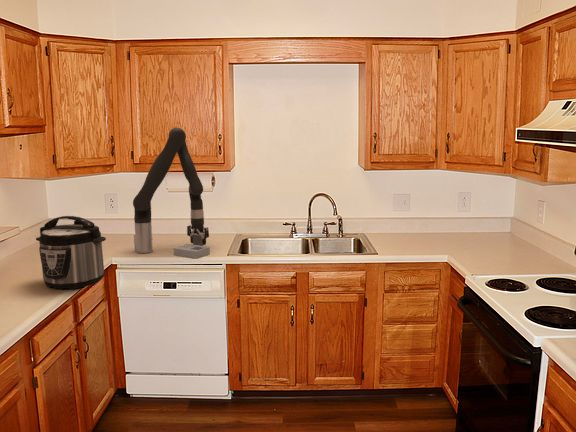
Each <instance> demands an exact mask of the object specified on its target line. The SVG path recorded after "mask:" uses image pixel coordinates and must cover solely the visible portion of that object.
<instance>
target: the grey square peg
mask: <svg viewBox="0 0 576 432" xmlns="http://www.w3.org/2000/svg"><path fill="white" fill-rule="evenodd" d="M202 239H203V238H202V237H201V236H200V234H195V235H193V243H192V244H193V245H200V246H204V245H203V244H202Z"/></svg>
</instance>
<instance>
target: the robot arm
mask: <svg viewBox="0 0 576 432" xmlns="http://www.w3.org/2000/svg"><path fill="white" fill-rule="evenodd" d="M186 138H187V135H186V132H185V131H184V129H182V128H180V127H178V126H177V127H173V128H172V129H170V130H169V133H168V138H167V140H166V142H165V145H164V148H163V149H162V151H161V152H160V153H159V154H158V155H157V156H156V157H155V160H153V161H154V162H153V163H152V164H151V166H150V169H149V170H148V173H147V175H146V177H145V180H144V183H143V185H142V187H141V188H140V190H139V191H138V193H137V194H136V195H135V196H134V198H133V200H132V205H133V208H134V210H133V211H134V215H133V216H134V219H133V220H134V234H133V242H134V243H133V245H134V252H136V253H137V254H149V253H152V252H153V250H154V249H153V230H152V229H153V226H152V199H153V197H154V195H155V193H156V191H157V189H159V187H160V185H161V184H162V182H163V181H164V179H165V178H166V176H167V175H168V172H169V170H170V168H171V166H172V164H173V162H174V160H175V157H176V155H178V159H179V162H180V166H181V170H182V172H183V174H184V178H185V179H186V180H187V182H188V184H189V185H188V194H189V200H190V224H189V225H187V226H186V234H187V236H188V237H190V239H189V240H190V241H189V242H190V244H193V235H195V234H200V236H201V237H202V238H203V239H202V244H203V246H205V245H206V244H207V239H208V238H209V237H210V233H209V232H210V231H209V227H208V226H206V227H205V226H204V225H205V214H204V202H203V200H202V194H203V192H204V185H203V183H202V180H201V179H200V177H199V175H198V171H197V170H196V169H197V168H196V166H195V164H194V161H193V159H192V157H191V155H190V151H189V149H188V145H187V141H186V140H187V139H186Z"/></svg>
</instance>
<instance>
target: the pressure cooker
mask: <svg viewBox="0 0 576 432" xmlns="http://www.w3.org/2000/svg"><path fill="white" fill-rule="evenodd" d="M66 219H67V220H72V221H73V224H72V223H71V224H59V225H58V222H59V221H60V220H66ZM106 239H107V238H106V237H105V236H102V233H101V231H100V227H99V226H98V225H95V223H94V222H92V221H91V220H89V219H87V218H83V217H80V216H75V215H62V216H58V217H54V218H52V219H50V220H48V221H47V222H46V223H44V225H43V226H41V227H39V236H37V237H36V238H35V240H36V241H38V242H39V256H40V262H41V271H42V279H43V282H44V284H45V285H46V286H47V287H49V288H51V287H53V288H52V289H56V288H62V289H61V290H64V289H63V288H69V289H79V288H86V287H88V286H92V285H95V284H98V283H99V282H100V281H101V280H102V279H103V278H104V275H105V266H104V254H103V253H104V252H103V243H102V242H104V241H106ZM69 289H68V290H69Z"/></svg>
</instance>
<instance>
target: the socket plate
mask: <svg viewBox="0 0 576 432" xmlns="http://www.w3.org/2000/svg"><path fill="white" fill-rule="evenodd" d="M210 254H211V247H210V246H205V245H203V246H200V245H193V243H185V244H182V245H180V246H176V247H173V256H175V257H176V256H177V257H185V258H188V259H196V260H197V259H200V258H203V257H205V256H208V255H210Z"/></svg>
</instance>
